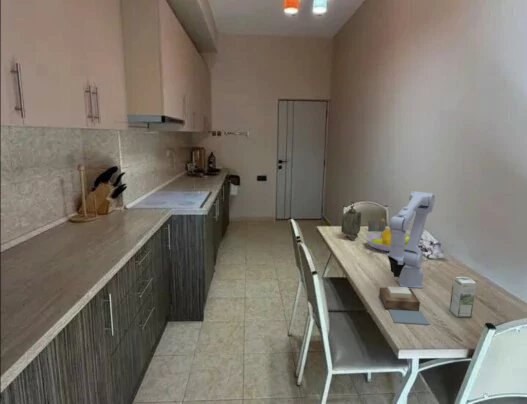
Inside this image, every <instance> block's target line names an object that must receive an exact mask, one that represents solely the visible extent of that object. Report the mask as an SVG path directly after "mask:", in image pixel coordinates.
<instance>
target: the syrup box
mask: <svg viewBox="0 0 527 404" xmlns="http://www.w3.org/2000/svg"><path fill="white" fill-rule="evenodd" d="M476 287H477V282H476V281H474V280H473V279H472V278H471V277H468V276H453V278H452V287H451V294H450V300H449V301H450V302H449V304H450V305H449V311H450V312H451V313H452V314H453V315H454V316H456V317H457V318H472V315H473V309H474V302H475V296H476V295H475V294H476Z"/></svg>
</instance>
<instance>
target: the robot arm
mask: <svg viewBox="0 0 527 404" xmlns="http://www.w3.org/2000/svg"><path fill="white" fill-rule="evenodd" d="M408 199H409V201H408V204H407V205H406V206H403V207H402V208H401V209H400V211H399V212H397V214H396V215H394V216H392V217H391V218H389V219H390V220H389V223H388V228H389V229H390V233H391V241H390V252H387V253H386V256H387V258H388V261H389V265H390V267H389V268H390V272H391V273H393V277H394V278H397V279H396V281H397V283H398V285H399V287H408V288H411V289H412V288H413V289H414V288H415V289H423V279H424V278H423V276H424V271H423V268H422V264H423V260H424V259H423V257H424V252H423V251H422V249H420V247H419V246H420V242H421V239H422V236H423V231H424V227H425V224H426V220H427V216H428V214H430V213H432V212H433V210H434V206H435V202H436V196H435V193H434V192H424V191H415V190H412V191H410V194H409V197H408ZM413 218H414V219H413ZM412 219H413V222H412V226H411V230H410V233H409V235H408V236H409V240H408V243H407V244H406V245H405V236H406V232H407V231H408V229H409V225H410V221H412Z"/></svg>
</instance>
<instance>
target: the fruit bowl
mask: <svg viewBox="0 0 527 404" xmlns="http://www.w3.org/2000/svg"><path fill="white" fill-rule="evenodd" d="M409 236H410V235H405V245H406V244H407V243H408V240H409ZM365 239H366V242H367V244H368V245H370V246H371V247H372V248H374V249H376V250H378V251H382V252H388V253H390V241H391V233H390V228H389V227H388V228H385V230H384V231H381V232H376V233H375V232H374V233H370V234H367V235H365Z"/></svg>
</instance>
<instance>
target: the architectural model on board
mask: <svg viewBox="0 0 527 404" xmlns="http://www.w3.org/2000/svg"><path fill="white" fill-rule="evenodd" d="M386 224H387V223H386V219H385V218H382V217H381V220H371V221H370V220H368V225H367V228H368V229H367V231H368V232H383V231H384V230H385V229H386Z"/></svg>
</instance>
